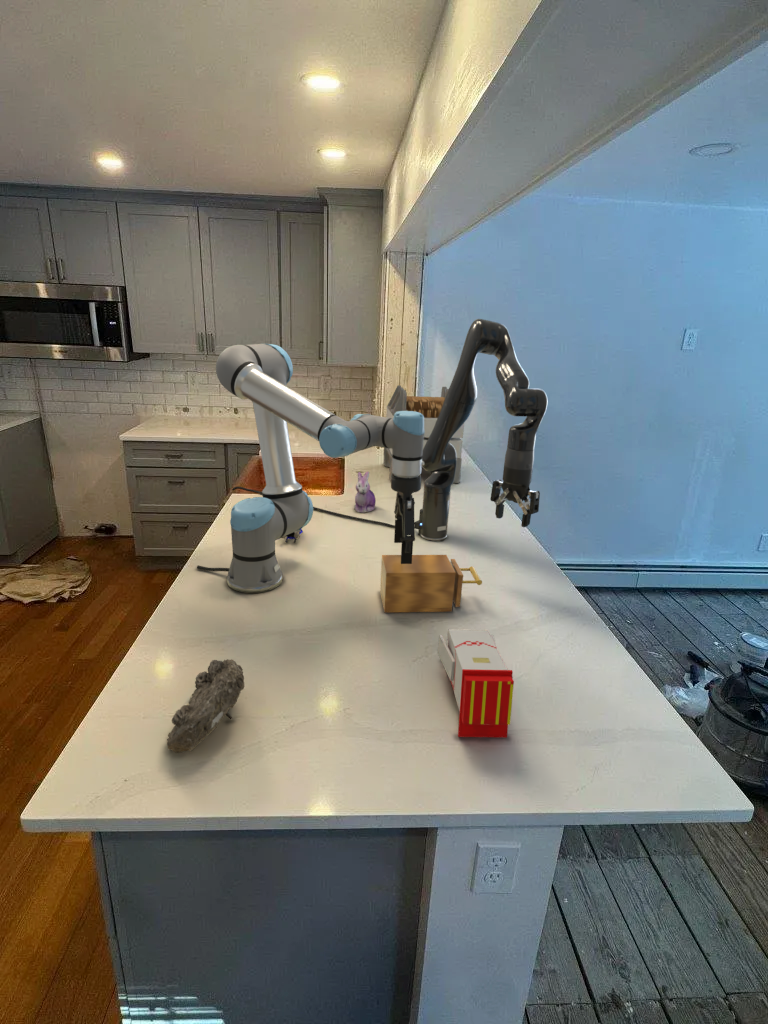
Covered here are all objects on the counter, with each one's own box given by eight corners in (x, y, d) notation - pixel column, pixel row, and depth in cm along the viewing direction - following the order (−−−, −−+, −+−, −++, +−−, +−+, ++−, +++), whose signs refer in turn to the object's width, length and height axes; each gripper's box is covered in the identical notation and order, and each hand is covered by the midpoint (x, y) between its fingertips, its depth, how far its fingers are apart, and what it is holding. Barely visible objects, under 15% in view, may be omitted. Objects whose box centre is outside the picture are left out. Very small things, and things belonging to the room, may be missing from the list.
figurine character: (300, 549, 187) (305, 527, 200) (299, 528, 183) (305, 508, 197) (279, 548, 187) (286, 527, 200) (279, 528, 183) (285, 507, 197)
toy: (488, 613, 130) (523, 677, 101) (484, 667, 133) (517, 744, 104) (435, 612, 130) (455, 676, 101) (432, 666, 133) (451, 743, 103)
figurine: (359, 514, 216) (360, 476, 211) (348, 506, 225) (349, 469, 220) (381, 511, 220) (382, 474, 215) (369, 503, 229) (371, 467, 224)
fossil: (192, 660, 117) (244, 628, 112) (224, 691, 120) (276, 661, 115) (142, 746, 98) (202, 712, 93) (182, 779, 101) (242, 748, 96)
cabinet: (443, 591, 160) (446, 554, 156) (451, 611, 150) (455, 572, 146) (380, 592, 158) (381, 554, 154) (384, 612, 148) (386, 572, 144)
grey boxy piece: (382, 463, 289) (386, 382, 275) (445, 464, 293) (451, 384, 279) (390, 482, 257) (394, 392, 243) (460, 483, 261) (468, 394, 247)
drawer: (471, 589, 160) (474, 558, 157) (480, 606, 151) (484, 574, 148) (393, 589, 158) (395, 559, 155) (397, 607, 148) (399, 575, 145)
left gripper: (430, 489, 130) (424, 572, 137) (413, 461, 153) (409, 534, 161) (397, 489, 129) (394, 573, 136) (386, 461, 153) (383, 534, 160)
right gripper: (549, 468, 148) (541, 526, 153) (505, 457, 158) (499, 512, 163) (532, 473, 143) (525, 532, 149) (488, 461, 153) (482, 517, 159)
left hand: (402, 552), depth 149 cm, fingers open, 13 cm apart
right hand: (511, 522), depth 156 cm, fingers open, 8 cm apart
